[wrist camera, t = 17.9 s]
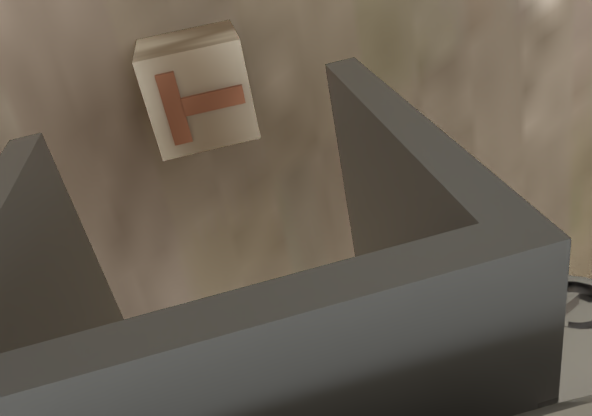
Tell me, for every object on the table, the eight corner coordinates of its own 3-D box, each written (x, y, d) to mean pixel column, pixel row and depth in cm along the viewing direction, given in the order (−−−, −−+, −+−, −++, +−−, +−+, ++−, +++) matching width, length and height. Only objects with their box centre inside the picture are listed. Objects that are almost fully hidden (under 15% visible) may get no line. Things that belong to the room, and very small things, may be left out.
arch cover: (354, 57, 11) (571, 238, 5) (388, 320, 15) (541, 610, 9) (9, 140, 11) (-193, 451, 5) (130, 394, 14) (104, 758, 8)
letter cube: (229, 19, 24) (240, 40, 21) (248, 106, 26) (261, 140, 23) (136, 39, 24) (131, 64, 20) (163, 126, 26) (163, 163, 22)
